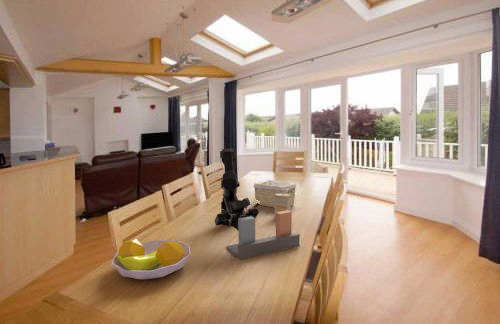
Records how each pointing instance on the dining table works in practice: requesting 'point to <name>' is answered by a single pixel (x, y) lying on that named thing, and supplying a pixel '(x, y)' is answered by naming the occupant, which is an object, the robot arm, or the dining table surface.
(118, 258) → the fruit bowl
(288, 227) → the terracotta key
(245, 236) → the slate key
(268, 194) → the storage basket
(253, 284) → the dining table surface
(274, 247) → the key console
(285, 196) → the supplement box
